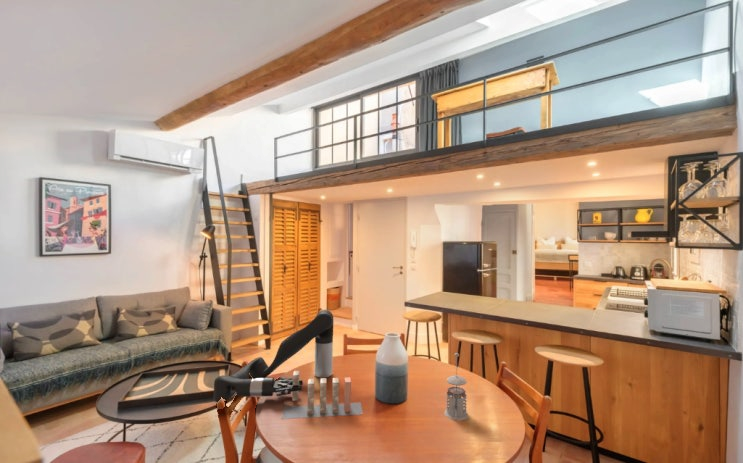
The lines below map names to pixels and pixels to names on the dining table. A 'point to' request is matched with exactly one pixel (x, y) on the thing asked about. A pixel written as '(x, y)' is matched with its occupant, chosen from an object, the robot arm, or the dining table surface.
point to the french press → (456, 398)
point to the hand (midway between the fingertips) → (301, 385)
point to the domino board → (302, 411)
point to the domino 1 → (295, 382)
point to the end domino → (347, 394)
